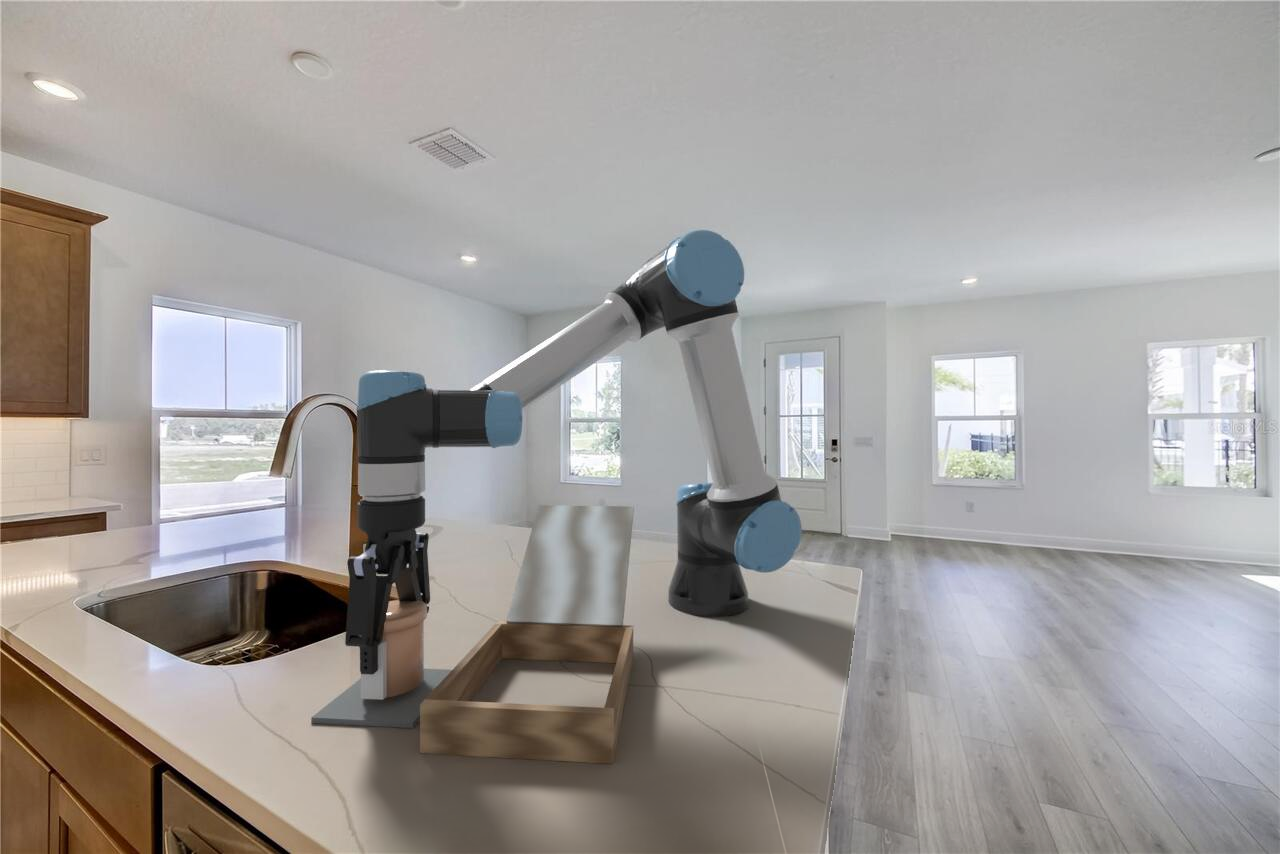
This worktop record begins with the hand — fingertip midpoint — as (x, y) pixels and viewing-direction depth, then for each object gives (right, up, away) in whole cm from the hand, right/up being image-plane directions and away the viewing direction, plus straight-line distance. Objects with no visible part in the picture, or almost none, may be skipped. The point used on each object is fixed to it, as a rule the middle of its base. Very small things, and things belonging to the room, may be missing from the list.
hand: (392, 680), depth 62 cm
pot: (0, 0, 0) cm, 0 cm away
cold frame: (+20, -2, +8) cm, 21 cm away
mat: (0, -2, 0) cm, 2 cm away
